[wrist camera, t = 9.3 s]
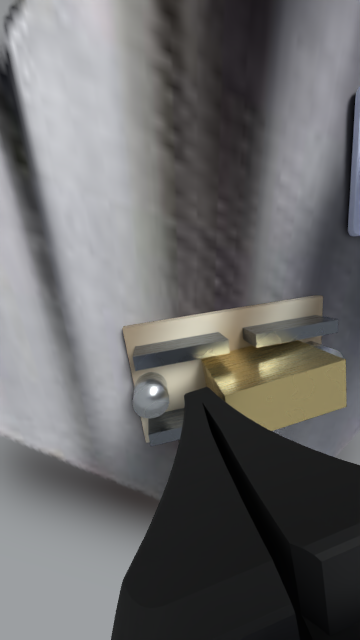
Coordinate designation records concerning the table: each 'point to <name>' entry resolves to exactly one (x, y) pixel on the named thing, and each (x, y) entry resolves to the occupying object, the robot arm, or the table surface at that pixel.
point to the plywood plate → (224, 322)
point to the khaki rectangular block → (278, 382)
